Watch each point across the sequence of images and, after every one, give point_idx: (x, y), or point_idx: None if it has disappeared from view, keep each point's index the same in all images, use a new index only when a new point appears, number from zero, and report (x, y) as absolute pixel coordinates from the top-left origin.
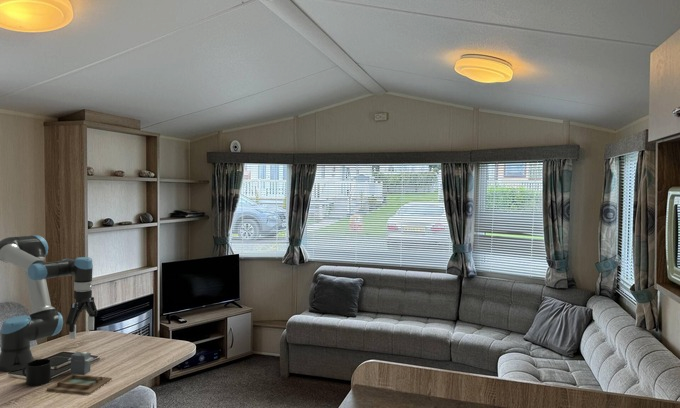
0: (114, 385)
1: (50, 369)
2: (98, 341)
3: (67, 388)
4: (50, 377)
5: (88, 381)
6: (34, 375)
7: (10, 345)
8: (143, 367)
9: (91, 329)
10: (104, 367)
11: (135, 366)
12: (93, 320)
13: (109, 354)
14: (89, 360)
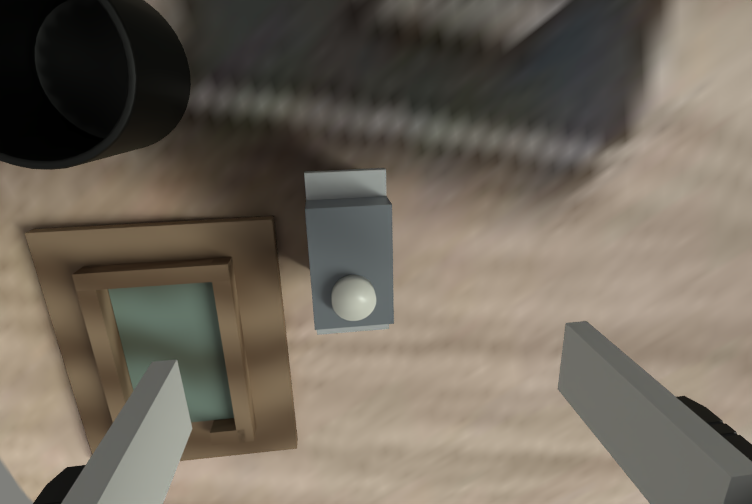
0: (243, 487)
1: (121, 151)
2: None
3: (84, 342)
4: (150, 143)
5: (209, 381)
6: None
7: None
8: (482, 473)
9: (564, 373)
10: (447, 303)
11: (489, 435)
12: (655, 501)
13: (657, 196)
14: (340, 329)
